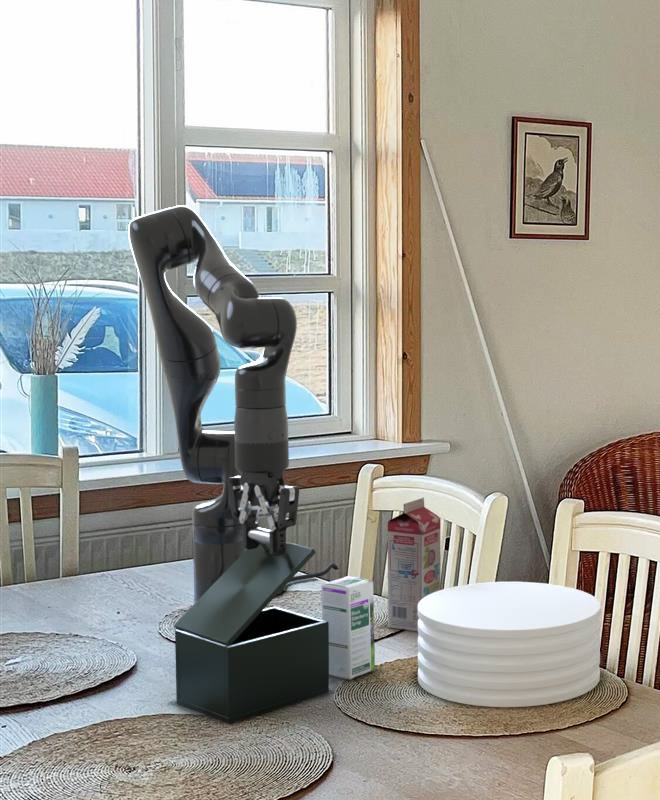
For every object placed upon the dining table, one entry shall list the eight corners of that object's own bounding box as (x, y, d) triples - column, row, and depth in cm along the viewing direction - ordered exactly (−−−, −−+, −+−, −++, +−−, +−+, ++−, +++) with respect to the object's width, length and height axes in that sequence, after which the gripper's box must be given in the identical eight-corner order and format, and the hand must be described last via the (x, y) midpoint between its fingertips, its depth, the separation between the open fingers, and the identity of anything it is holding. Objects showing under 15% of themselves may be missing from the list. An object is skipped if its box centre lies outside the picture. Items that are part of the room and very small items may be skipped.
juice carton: (387, 627, 235) (387, 502, 233) (407, 617, 241) (407, 495, 239) (421, 631, 233) (421, 505, 230) (440, 621, 239) (440, 499, 236)
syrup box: (350, 680, 206) (349, 587, 205) (321, 673, 209) (320, 581, 208) (375, 670, 211) (375, 579, 209) (347, 664, 214) (346, 574, 212)
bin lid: (262, 539, 204) (245, 514, 201) (316, 552, 196) (299, 526, 194) (176, 629, 194) (156, 603, 191) (229, 646, 186) (209, 620, 183)
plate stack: (623, 661, 218) (624, 591, 216) (561, 717, 191) (562, 638, 190) (464, 642, 227) (465, 575, 226) (385, 693, 201) (384, 617, 199)
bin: (276, 674, 208) (275, 606, 207) (329, 692, 201) (328, 621, 199) (176, 703, 195) (174, 630, 194) (229, 723, 187) (227, 647, 186)
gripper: (314, 439, 193) (316, 554, 195) (252, 428, 202) (254, 539, 204) (271, 445, 187) (274, 564, 190) (209, 434, 196) (212, 548, 199)
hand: (264, 551), depth 197 cm, fingers closed on bin lid, 5 cm apart
